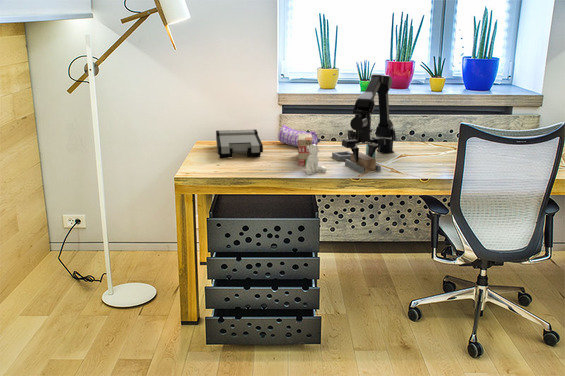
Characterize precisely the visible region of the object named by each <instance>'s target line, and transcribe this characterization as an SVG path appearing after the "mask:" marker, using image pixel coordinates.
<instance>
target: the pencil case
mask: <svg viewBox="0 0 565 376" xmlns="http://www.w3.org/2000/svg"><path fill="white" fill-rule="evenodd" d="M298 134H312V144H315V145H317V146H318V144H319V143H321V138H318V135H317V134H316V131H311V130H310V131H303V130H297V129H293V128H290V127H289V126H286V125H285V124H283V125H282V127H281V128H280V129H279V131H278V141H279V142H280V143H282V144H285V145H289V146H293V147H298Z"/></svg>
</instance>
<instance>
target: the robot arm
mask: <svg viewBox="0 0 565 376" xmlns="http://www.w3.org/2000/svg"><path fill="white" fill-rule="evenodd" d="M392 85H393V78H392V77H391V76H390V75H389V74H386V75H385V74H383V73H373V74H371V75H370V80H369V82H368V84H367V86H366V88H365V90H364V92H363V93H362V94H361V93H360V94H359V96H358V98H357V99H356V100H355V103H354V107H353V111H352V115H354V117H353V118H352V119H351V120H350V122H349V125H350V128H351V129H350V130H347V138H344V139H342V141H341V147H344V148H346V149H350V150H351V153H353V155H354V158H355V161H356V162H358V155H359V152H360V148H359V147H358V146H361V145H366V144H368V148H369V151H368V156H370V157H372V156H373V154H374V152H375V151H376V152H379V151H380V152H379V153H381V152H382V153H381V154H388V153H387V152H392V153H395V150H394V141H397V133H396V130H395V127H394V123H393V122H392V120H391V119H390V106H389V105H390V101H389V91H390V89H391V88H392ZM376 95H377V97H378V98H377V99H378V113H379V114H378V115H379V116H378V117H379V122H378V124H377V126H376V129H375V136H373V137H371V133H372V132H373V130H372V128H371V127H372V115H373V114H374V111H375V107H376V103H375V97H376ZM377 150H378V151H377Z"/></svg>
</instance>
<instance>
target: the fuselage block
mask: <svg viewBox="0 0 565 376" xmlns="http://www.w3.org/2000/svg"><path fill="white" fill-rule="evenodd" d="M350 161H352V162H354V163H356V164H358V165H360V166H362V167H364V173H371V172H372V173H373V172H376V170H375V166H376V164H377V159H376V158H375V159H374V158H372V157H370V156H368V155H366V153H363V152H360V151H359V155H358V162H356V161H355V158H354V155H353V152H351V160H350Z"/></svg>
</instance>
